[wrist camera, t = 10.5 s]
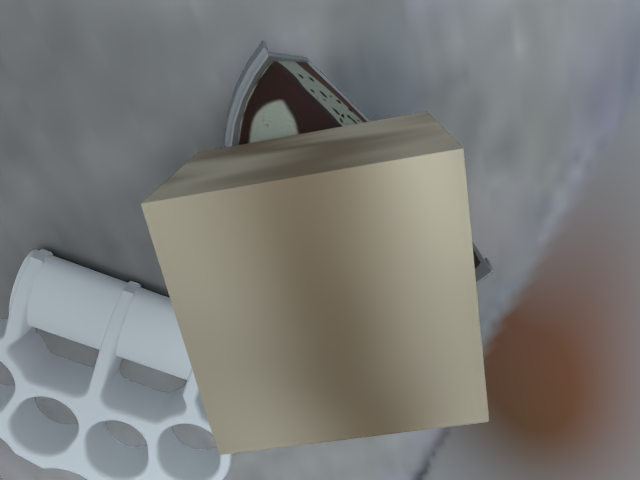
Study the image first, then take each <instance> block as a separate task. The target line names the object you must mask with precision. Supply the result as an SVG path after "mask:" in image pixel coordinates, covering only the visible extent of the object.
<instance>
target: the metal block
mask: <svg viewBox="0 0 640 480" xmlns="http://www.w3.org/2000/svg"><path fill="white" fill-rule="evenodd" d="M141 206H142V209H143V213H144V216H145V219H146V222H147V226H148V229H149V232H150V235H151V238H152V242H153V245H154V248H155V251H156V254H157V258H158V261H159V264H160V267H161V270H162V274H163V277H164V280H165V283H166V286H167V290H168V293H169V296H170V299H171V302H172V306H173V309H174V312H175V315H176V319H177V322H178V325H179V328H180V331H181V335H182V338H183V341H184V344H185V347H186V351H187V354H188V357H189V360H190V363H191V367H192V370H193V373H194V376H195V379H196V383H197V386H198V389H199V392H200V396H201V399H202V402H203V405H204V408H205V412H206V415H207V418H208V421H209V424H210V428H211V431H212V434H213V437H214V440H215V444H216V447H217V450H218V453H219V455H224V454H232V453H240V452H248V451H256V450H264V449H272V448H280V447H288V446H297V445H305V444H313V443H321V442H329V441H337V440H345V439H353V438H361V437H369V436H377V435H385V434H393V433H401V432H409V431H417V430H425V429H433V428H441V427H450V426H458V425H465V424H474V423H482V422H489V415H488V405H487V394H486V384H485V372H484V362H483V351H482V341H481V330H480V319H479V309H478V298H477V288H476V277H475V266H474V256H473V245H472V235H471V224H470V213H469V203H468V192H467V181H466V171H465V160H464V150H463V147H462V146H461V145H460V144H459V143H458V142H457V141H456V140H455V139H454V138H453V137H452V136H451V135H450V134H449V133H448V132H447V131H446V130H445V129H444V128H443V127H442V126H441V125H440V124H439V123H438V122H437V121H436V120H435V119H434V118H433V117H432V116H431V115H430V114H429V113H428V112H427V111H426V112H420V113H415V114H409V115H404V116H398V117H392V118H387V119H381V120H376V121H370V122H365V123H359V124H353V125H348V126H342V127H337V128H331V129H326V130H320V131H314V132H309V133H303V134H298V135H292V136H287V137H281V138H275V139H270V140H264V141H259V142H253V143H248V144H242V145H236V146H231V147H225V148H220V149H214V150H209V151H203V152H198V153H197V154H196V155H195V156H193V157H192V158H191V159H190V160H189V161H188V162H187V163H186V164H184V165H183V166H182V167H181V168H180V169H179V170H178V171H177V172H176V173H174V174H173V175H172V176H171V177H170V178H169V179H168V180H167V181H166V182H164V183H163V184H162V185H161V186H160V187H159V188H158V189H157V190H155V191H154V192H153V193H152V194H151V195H150V196H149V197H148V198H147V199H145V200H144V201H143V202H142V203H141Z"/></svg>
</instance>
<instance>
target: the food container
mask: <svg viewBox="0 0 640 480" xmlns="http://www.w3.org/2000/svg"><path fill="white" fill-rule="evenodd" d="M365 122H370V120H369V119H368V118H367V117H366V116H365V115H364V114H363V113H362V112H361V111H360V110H359V109H358V108H357V107H356V106H355V105H354V104H353V103H352V102H351V101H350V100H349V99H348V98H347V97H346V96H345V95H344V94H343V93H342V92H341V91H340V90H339V89H338V88H337V87H336V86H335V85H334V84H333V83H332V82H331V81H330V80H329V79H328V78H327V77H326V76H325V75H324V74H323V73H322V72H321V71H319V70H318V69H317V68H316V67H315V66H314V65H313V64H312V63H311V62H310V61H309V60H308V59H307V58H306V57H299V56H291V55H283V54H276V53H270V52H269V51H268V50H267V44H266V43H265V42H264V41H262V42H261V44H260V45H259V46H258V48H257V49H256V51H255V52H254V53H253V55H252V56H251V58H250V59H249V61H248V62H247V64H246V66H245V68H244V70H243V72H242V74H241V76H240V78H239V80H238V82H237V84H236V87H235V90H234V93H233V96H232V100H231V103H230V106H229V109H228V115H227V121H226V128H225V135H224V144H225V147H231V146H236V145H242V144H248V143H253V142H259V141H264V140H270V139H275V138H281V137H287V136H292V135H298V134H303V133H309V132H314V131H320V130H326V129H331V128H337V127H342V126H348V125H353V124H359V123H365ZM472 245H473V256H474V266H475V277H476V285H477V284H478V283H479V282H481V281H482V280H484V279H485V278H486V277H488V276H489V275H491V274H492V273H493V272H492V271H493V269H492V266H491V264H490V262H489V260H488V259H487V258H485V259H484V258H483V256H482V255H481V253H480V252H479V250H478V249H477V247H476V246H475V244H474V243H473V241H472Z"/></svg>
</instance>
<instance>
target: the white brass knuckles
mask: <svg viewBox="0 0 640 480" xmlns="http://www.w3.org/2000/svg"><path fill="white" fill-rule="evenodd" d="M34 327H35V328H38V329H41V330H43V331H46V332H49V333H52V334H55V335H58V336H61V337H64V338H67V339H69V340H72V341H75V342H78V343H81V344H84V345H87V346H90V347H93V348H95V349H98V350H99V354H98V357H97V361H96V364H95V368H92V367H89V366H86V365H83V364H80V363H77V362H74V361H71V360H69V359H66V358H63V357H60V356H57V355H54V354H52V353H51V352H50V351H49V350H48V348H47V346H46V344H45V342H44V340H43V339H42V338H41V336H40V335H39V334H38V333H37V332H36V330H35V328H34ZM122 358H124V359H127V360H130V361H133V362H136V363H139V364H142V365H145V366H148V367H151V368H153V369H156V370H159V371H162V372H165V373H168V374H171V375H174V376H177V377H180V378H183V379H186V380H187V383H186V385H185V387H182V388H179V389H177V390H175V391H173V392H171V393H165V392H162V391H159V390H156V389H153V388H150V387H147V386H145V385H142V384H139V383H136V382H133V381H130V380H127V379H126V378H124V377H123V376H122V374H121V372H120V364H121V361H122ZM0 361H1V362H2V363H3V364H4V365H5V366H6V367H7V368H8V369H9V371H10V372H11V374H12V376H13V378H14V381H15V386H6V385H1V384H0V438H1V439H3V440H4V441H5V442H6V443H7V444H8V445H9V446H10V447H11V449H12V450H13V451H14V453H15V454H17V455H19V456H21V457H23V458H25V459H26V460H28V461H30V462H32V463H34V464H36V465H37V466H39V467H41V468H43V469H44V468H57V469H64V470H68V471H71V472H74V473H76V474H79V475H81V476H83V477H84V478H86V479H88V480H223V479H224V478H225V476H226V475H227V473H228V471H229V469H230V466H231V463H232V459H233V455H234V453H232V454H224V455H219V453H218V450H217V447H215V448H212V449H208V450H198V449H193V448H190V447H188V446H186V445H184V444H183V443H181V442H180V441H179V440H178V439H177V438H176V436H175V435H174V433H173V430H172V426H173V425H176V424H184V423H185V424H194V425H197V426H200V427H202V428H204V429H206V430H208V431H209V432H210V433H212V431H211V428H210V424H209V421H208V418H207V415H206V412H205V408H204V405H203V402H202V399H201V396H200V392H199V389H198V386H197V383H196V379H195V376H194V373H193V370H192V367H191V363H190V360H189V357H188V354H187V351H186V347H185V344H184V341H183V338H182V335H181V331H180V328H179V325H178V322H177V319H176V315H175V312H174V309H173V306H172V302H171V299H170V298H169V297H166V296H163V295H160V294H158V293H155V292H152V291H149V290H147V289H144V288H141V285H140V284H138V283H136V282H133V281H129V282H128V283H127V282H125V281H122V280H119V279H116V278H113V277H111V276H108V275H105V274H102V273H100V272H97V271H94V270H91V269H89V268H86V267H83V266H80V265H78V264H75V263H72V262H69V261H66V260H64V259H61V258H58V257H55V256H53V253H52V252H50V251H47V250H44V249H40V250H36V249H34V250H32V251H31V252H30V253H29V254H28V255H27V256H26V258H25V259H24V261H23V263H22V265H21V267H20V270H19V272H18V274H17V277H16V279H15V282H14V285H13V289H12V292H11V297H10V303H9V316H8V319H0ZM37 396H42V397H49V398H53V399H55V400H58V401H60V402H62V403H63V404H65V405H66V406H67V407H68V408H70V409H71V411H72V412H73V413H74V414H75V416H76V418H77V420H78V423H75V424H62V423H58V422H55V421H53V420H51V419H49V418H47V417H46V416H45V415H44V414H42V412H41V411H40V410H39V409H38V407H37V405H36V403H35V399H34V397H37ZM106 420H116V421H121V422H124V423H127V424H129V425H131V426H133V427H134V428H136V429H137V430H138V431H139V432H140V433H141V434H142V435H143V436H144V438H145V440H146V442H147V446H143V447H132V446H128V445H125V444H122V443H120V442H119V441H117V440H116V439H114V438H113V437H112V436H111V435H110V433H109V432H108V430H107V428H106V425H105V421H106Z"/></svg>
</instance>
